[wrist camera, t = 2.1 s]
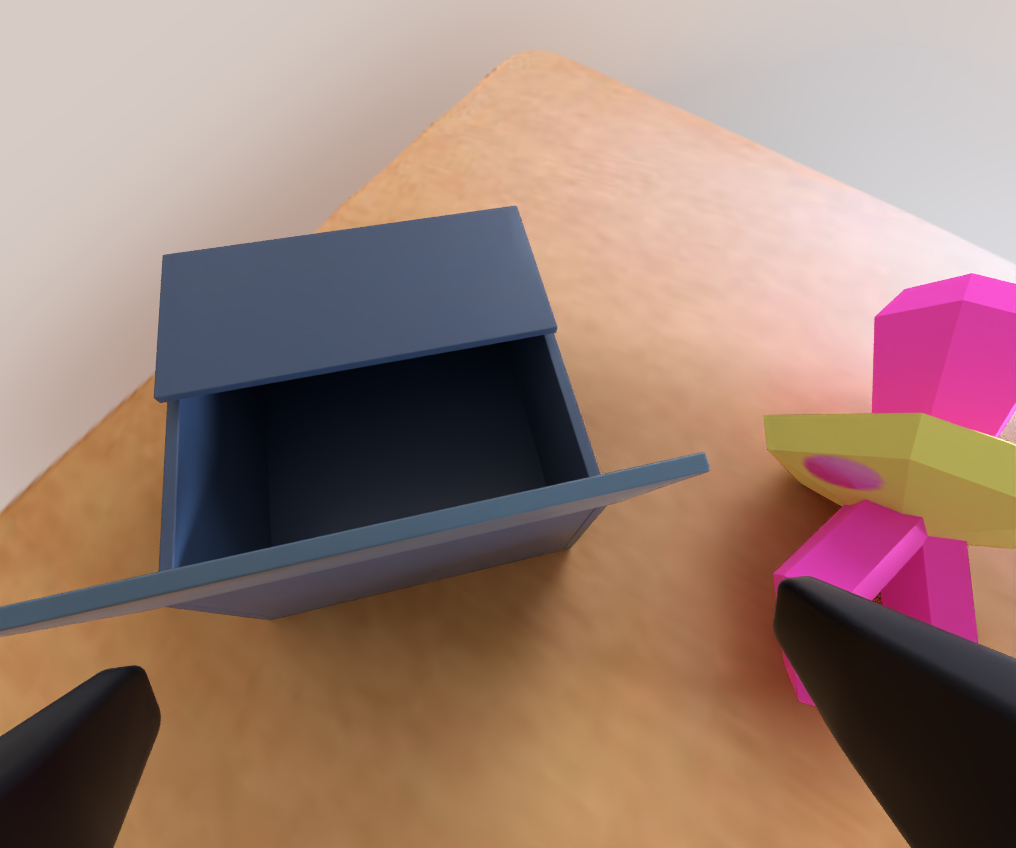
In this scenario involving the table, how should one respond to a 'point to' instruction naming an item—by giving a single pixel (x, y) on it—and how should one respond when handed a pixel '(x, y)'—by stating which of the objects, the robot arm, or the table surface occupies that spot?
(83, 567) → the table surface
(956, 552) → the toy
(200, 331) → the carton
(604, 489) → the flap
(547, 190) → the table surface
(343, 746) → the table surface
